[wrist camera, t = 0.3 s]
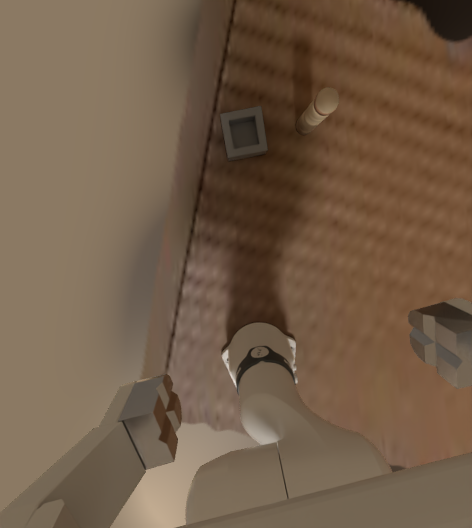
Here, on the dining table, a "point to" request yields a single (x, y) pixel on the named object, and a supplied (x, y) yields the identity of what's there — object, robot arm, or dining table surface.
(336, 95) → the dowel
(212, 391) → the dining table surface
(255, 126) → the square socket block
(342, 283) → the dining table surface
